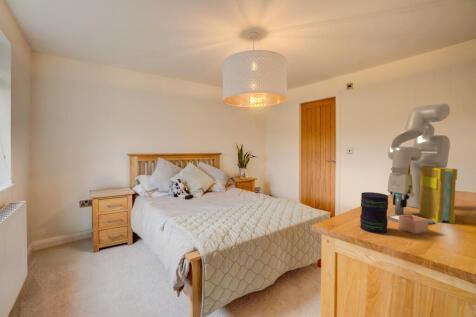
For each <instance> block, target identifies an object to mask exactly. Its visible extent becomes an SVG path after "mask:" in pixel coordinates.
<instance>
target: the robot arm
mask: <svg viewBox="0 0 476 317" xmlns="http://www.w3.org/2000/svg"><path fill="white" fill-rule="evenodd" d="M450 113H451V108H450V105H449V104H447V103H436V104H428V105H421V106H417V107H414V108H412V110H410V112H409V115H408V118H407V121H406V124H405V127H404V130H403V131H401V132H399V133H397V135H396V136H395V137H394V138H392V140H391V142H390V144H389V147H388V151H387V155H388V158H389V159H390V160H392V162H391V163H392V167H391V168H390V170H391V172H390V174H389V177H388V184H387V192H388V193H389V194H390V195H391V197H392V205H393V206H395V199H396V197H395V194H396V193H400V194H402V200H401V205H400V207H402V208H403V207H404V208H407V206H408V207H410V208H417V209H419V203H420V182H421V166H434V167H442V168H447V166H448V162H449V161H448V160H449V155H450V154H449V153H450V149H451V141H450V138H449V137H448V136H447V135H443V134H442V135H441V134H439V135H437V134H436V135H435V127H434V126H433V124H431V123H439V122H441V121H444V120H445V119H447V118H448V117H449V115H450ZM411 140H413V146H401V145H402V144H403V143H406V142H408V141H411Z"/></svg>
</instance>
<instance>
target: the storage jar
mask: <svg viewBox="0 0 476 317" xmlns="http://www.w3.org/2000/svg"><path fill="white" fill-rule="evenodd" d="M360 193H361V194H360V195H361V198H360V207H361V209H360V210H361V213H360V219H359V224H360V226H359V228H360V229H361V230H363V231H364V232H367V233H370V234H375V235H376V234H379V235H383V234H386V233H388V230H387V229H388V226H389V225H388V224H389V223H388V221H389V219H387V216H388V210H389V195H388V194H385V193H382V192H374V191H373V192H371V191H368V192H366V191H365V192H360Z"/></svg>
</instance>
